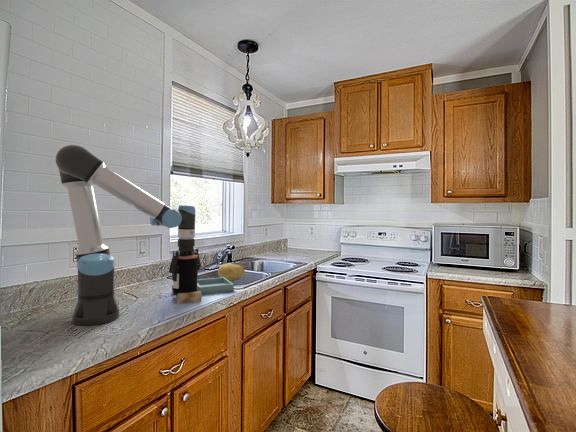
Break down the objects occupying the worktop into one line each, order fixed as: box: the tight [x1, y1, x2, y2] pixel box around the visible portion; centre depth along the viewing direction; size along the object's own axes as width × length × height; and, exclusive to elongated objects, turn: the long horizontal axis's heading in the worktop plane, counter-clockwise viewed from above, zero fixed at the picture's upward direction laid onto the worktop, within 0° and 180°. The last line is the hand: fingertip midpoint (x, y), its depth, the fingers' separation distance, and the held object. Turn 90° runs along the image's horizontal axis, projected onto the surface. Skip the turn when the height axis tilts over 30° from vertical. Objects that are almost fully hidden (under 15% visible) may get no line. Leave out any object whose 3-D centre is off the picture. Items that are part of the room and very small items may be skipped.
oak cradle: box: [171, 284, 202, 305], centre depth 150 cm, size 10×19×4 cm, turn 27°
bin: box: [197, 277, 235, 295], centre depth 166 cm, size 17×17×4 cm
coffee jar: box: [173, 254, 198, 297], centre depth 150 cm, size 11×11×18 cm
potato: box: [217, 263, 245, 282], centre depth 185 cm, size 10×14×10 cm
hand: (185, 285), depth 150 cm, fingers closed on coffee jar, 11 cm apart
